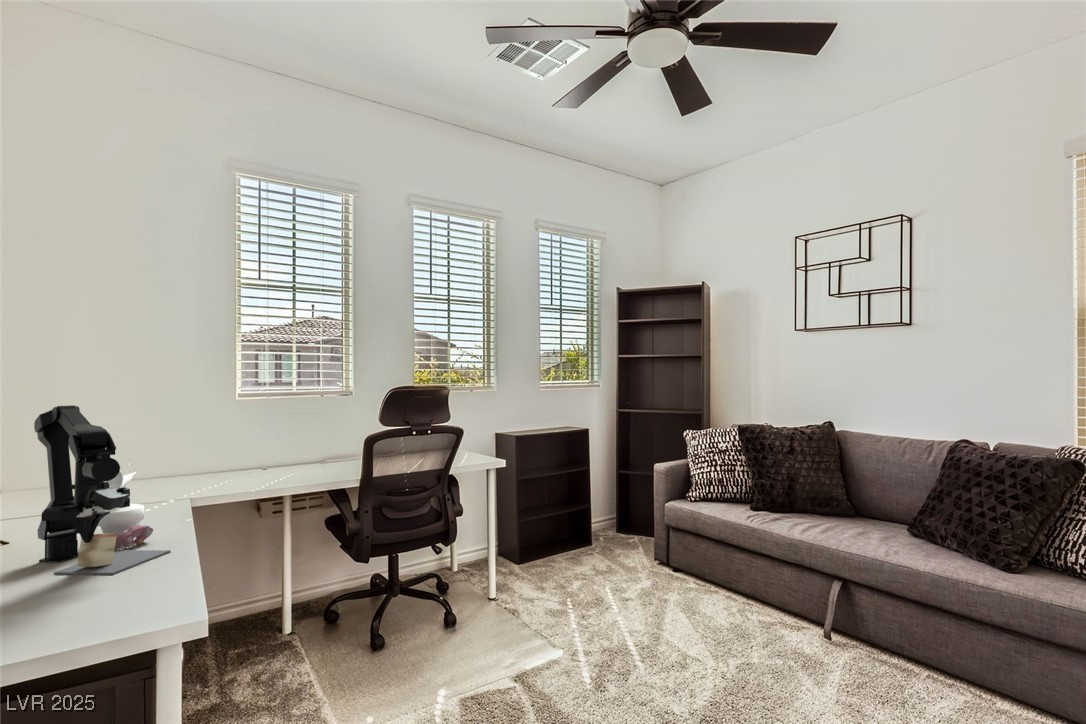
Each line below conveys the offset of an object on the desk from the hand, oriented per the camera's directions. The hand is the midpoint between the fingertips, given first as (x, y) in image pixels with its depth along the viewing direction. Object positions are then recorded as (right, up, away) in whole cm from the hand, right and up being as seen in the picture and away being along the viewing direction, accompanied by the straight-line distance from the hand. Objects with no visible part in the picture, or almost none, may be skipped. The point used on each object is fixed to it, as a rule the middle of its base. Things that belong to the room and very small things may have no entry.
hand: (87, 542), depth 136 cm
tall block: (0, -6, +2) cm, 7 cm away
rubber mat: (+2, -7, +6) cm, 10 cm away
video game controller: (-5, -9, +22) cm, 24 cm away
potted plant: (-13, -9, +28) cm, 32 cm away
